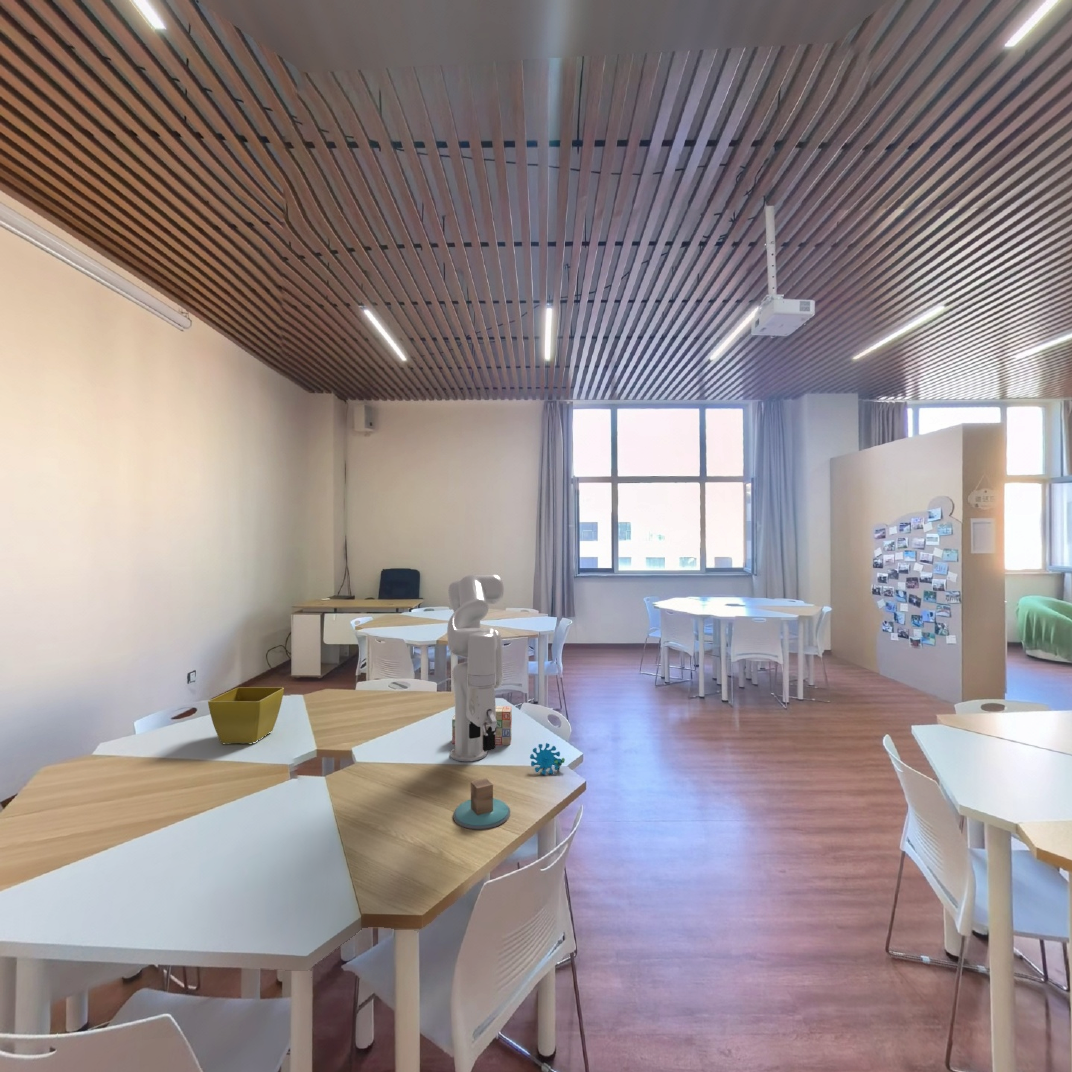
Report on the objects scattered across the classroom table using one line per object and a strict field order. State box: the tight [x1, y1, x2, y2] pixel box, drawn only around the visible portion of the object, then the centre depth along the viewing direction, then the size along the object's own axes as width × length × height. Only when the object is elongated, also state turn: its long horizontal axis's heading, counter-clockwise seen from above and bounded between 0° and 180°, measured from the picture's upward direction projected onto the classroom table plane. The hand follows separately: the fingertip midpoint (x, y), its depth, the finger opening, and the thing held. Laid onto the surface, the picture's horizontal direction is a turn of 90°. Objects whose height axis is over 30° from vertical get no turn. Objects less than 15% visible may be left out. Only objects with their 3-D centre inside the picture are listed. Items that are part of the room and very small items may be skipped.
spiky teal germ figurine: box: [529, 742, 566, 776], centre depth 168 cm, size 11×6×10 cm
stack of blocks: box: [451, 705, 513, 746], centre depth 192 cm, size 21×6×12 cm, turn 88°
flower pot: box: [207, 686, 285, 744], centre depth 197 cm, size 19×19×17 cm
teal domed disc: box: [453, 797, 511, 831], centre depth 139 cm, size 15×15×1 cm
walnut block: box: [470, 777, 494, 815], centre depth 139 cm, size 4×4×7 cm
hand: (481, 743), depth 140 cm, fingers open, 9 cm apart
